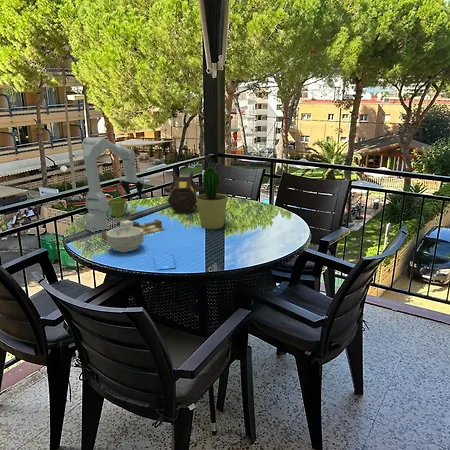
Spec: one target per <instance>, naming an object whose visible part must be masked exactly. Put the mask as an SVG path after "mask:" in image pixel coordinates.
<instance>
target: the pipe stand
mask: <svg viewBox="0 0 450 450" xmlns="http://www.w3.org/2000/svg"><path fill="white" fill-rule="evenodd" d="M133 227H134V226H133ZM139 228H141V229H142V230H143V236H145V235H149V234H152V233H157V232H160V231H165V230H166V227H165V228H164V227H163V223H162V220H159V219H154V221H150V222H144V223H141V224H139ZM107 232H108V231H107ZM107 232H106V231H101V236H102V237H101V238H102V239H104V240H106V241H107V235H106V233H107Z"/></svg>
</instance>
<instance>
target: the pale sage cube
mask: <svg viewBox="0 0 450 450" xmlns="http://www.w3.org/2000/svg"><path fill="white" fill-rule="evenodd" d="M133 222H134V221H131V220H130V219H126V220H122V221H120V222H119V223H120V228H121V227H133Z"/></svg>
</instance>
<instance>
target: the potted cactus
mask: <svg viewBox="0 0 450 450" xmlns="http://www.w3.org/2000/svg"><path fill="white" fill-rule="evenodd" d="M201 176H202V179H203V180H202V183H201V184H202V187H203V191H204V193H202V194H198V195H196V200H197V203H196V205H197V209H198V215H199V223H200V226H201V228H203V229H207V230H217V229H221V228H223V227H224V224H225V217H226V211H227V210H226V209H227V202H228V195H227V194H222V193H218V192H219V191H218V190H219V185H221V184H220V183H221V180H220V174H219V172H218V171H217V170H216V168H215V167H214V166H212V167H211V166H210V167H206V168H204V169H203V171H202V175H201Z"/></svg>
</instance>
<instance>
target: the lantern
mask: <svg viewBox="0 0 450 450" xmlns="http://www.w3.org/2000/svg"><path fill="white" fill-rule="evenodd" d="M194 174H195V172H193V171H191V172H190V174H189V175H188V176H177V174H176V173H175V172H171V176H172V178H173V180H172V182H171V184H170V186H169V187H163V191H165V192H167V193H170V194H169V197H168V198H167V200H166V201H167V203H168V204H169V206H170V207H171V208H172V210H173V211H174V213H175V214H178V213H179V214H180V213H181V214H182V213H184V214H185V213H192V211H193V210H194V208H195V207H196V205H197V200H196V197H197V193H198V192H202V191H204V187H203V186H198V185H197V184H196V182H195V181H194V179H193V177H194Z"/></svg>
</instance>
